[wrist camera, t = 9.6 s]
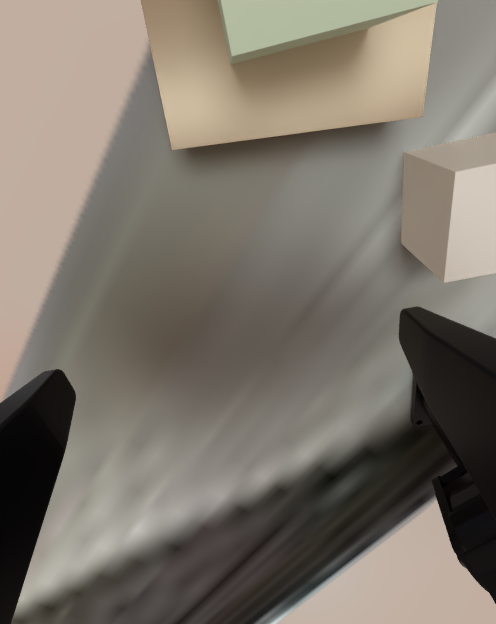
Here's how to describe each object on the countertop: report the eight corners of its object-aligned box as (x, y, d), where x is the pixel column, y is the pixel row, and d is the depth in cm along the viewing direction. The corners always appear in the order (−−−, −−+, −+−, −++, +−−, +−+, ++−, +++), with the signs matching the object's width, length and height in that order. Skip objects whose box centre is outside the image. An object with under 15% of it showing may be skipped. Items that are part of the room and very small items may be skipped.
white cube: (488, 225, 21) (554, 261, 17) (400, 243, 21) (443, 282, 17) (504, 130, 18) (588, 144, 14) (403, 151, 19) (455, 171, 14)
